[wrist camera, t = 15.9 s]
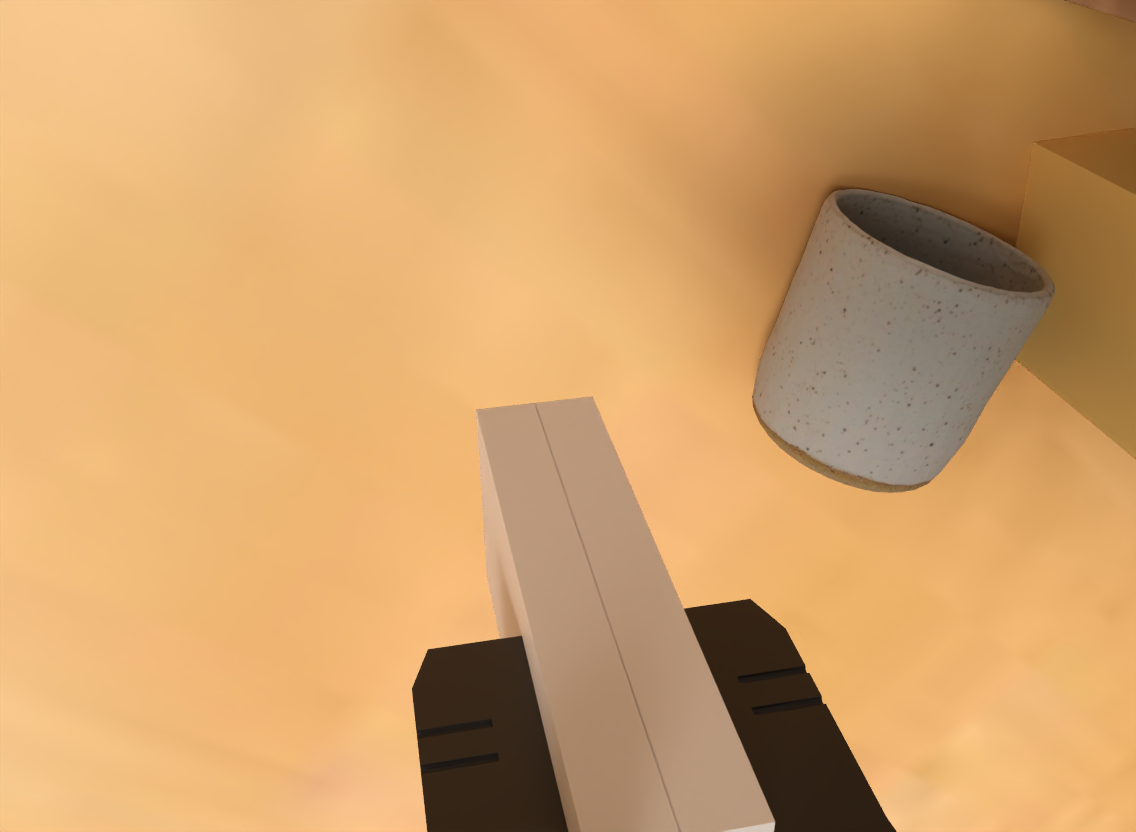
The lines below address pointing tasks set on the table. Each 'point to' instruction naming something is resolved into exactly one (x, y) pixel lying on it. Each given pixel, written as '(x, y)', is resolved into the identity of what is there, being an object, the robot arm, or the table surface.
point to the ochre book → (1086, 275)
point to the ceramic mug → (893, 340)
